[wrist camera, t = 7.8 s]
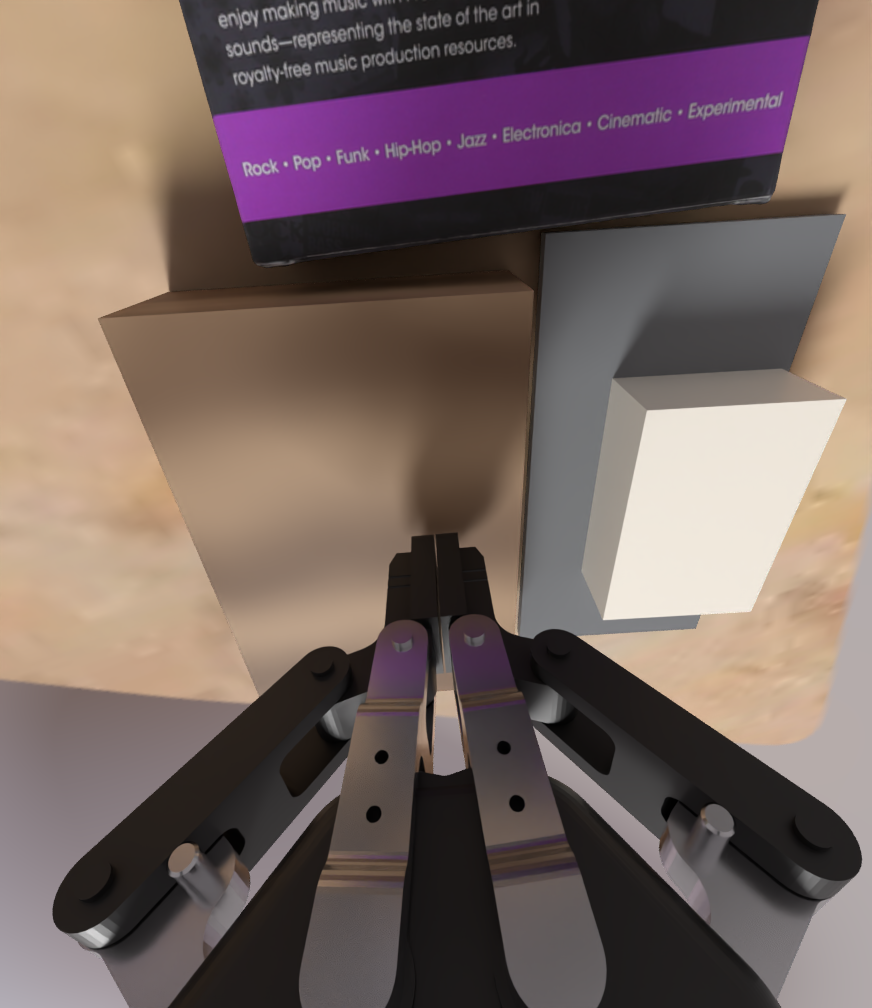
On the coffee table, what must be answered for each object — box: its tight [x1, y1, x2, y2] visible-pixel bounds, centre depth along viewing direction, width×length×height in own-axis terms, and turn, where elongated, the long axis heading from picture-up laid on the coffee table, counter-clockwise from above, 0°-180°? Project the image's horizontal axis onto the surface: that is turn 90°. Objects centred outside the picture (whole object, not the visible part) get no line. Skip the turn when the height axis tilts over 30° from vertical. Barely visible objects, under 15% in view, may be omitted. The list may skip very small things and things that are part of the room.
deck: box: [98, 270, 534, 697], centre depth 18 cm, size 16×11×4 cm
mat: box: [518, 214, 846, 639], centre depth 19 cm, size 18×9×1 cm, turn 3°
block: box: [581, 369, 846, 620], centre depth 18 cm, size 9×6×3 cm, turn 3°
